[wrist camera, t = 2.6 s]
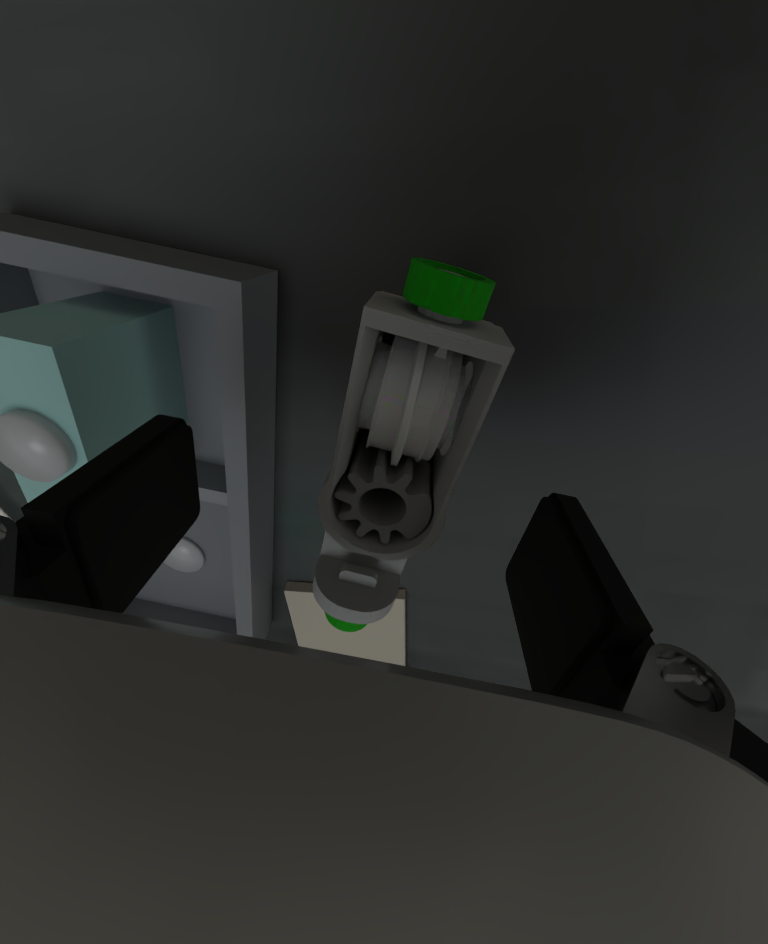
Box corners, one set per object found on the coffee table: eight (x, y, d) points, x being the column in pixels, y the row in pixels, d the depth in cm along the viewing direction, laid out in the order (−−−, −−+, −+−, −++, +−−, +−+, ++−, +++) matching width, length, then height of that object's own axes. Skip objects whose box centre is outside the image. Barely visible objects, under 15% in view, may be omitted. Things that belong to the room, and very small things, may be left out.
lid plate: (287, 581, 26) (278, 603, 25) (405, 589, 25) (403, 612, 24) (308, 663, 32) (302, 686, 30) (405, 673, 31) (404, 696, 29)
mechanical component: (353, 457, 20) (294, 626, 12) (406, 232, 14) (364, 250, 6) (408, 471, 20) (388, 649, 12) (483, 254, 14) (546, 303, 6)
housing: (10, 213, 15) (-284, 209, 9) (277, 270, 15) (168, 306, 9) (129, 591, 29) (43, 695, 23) (272, 621, 29) (226, 734, 23)
